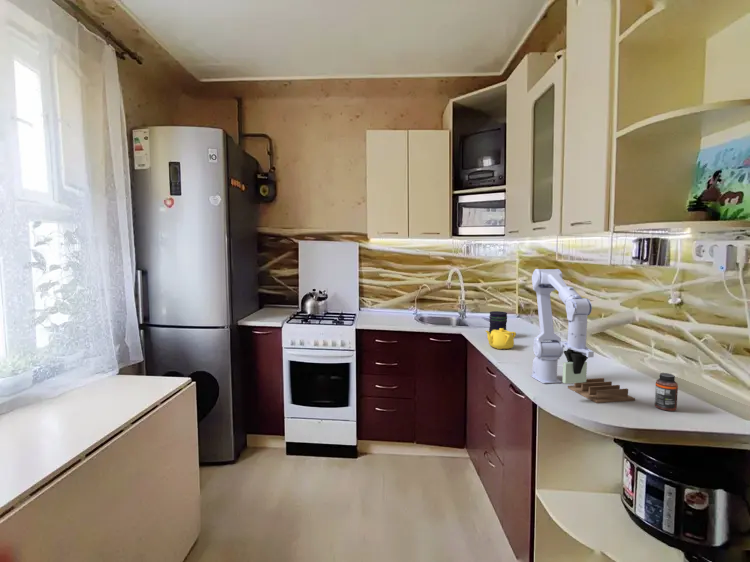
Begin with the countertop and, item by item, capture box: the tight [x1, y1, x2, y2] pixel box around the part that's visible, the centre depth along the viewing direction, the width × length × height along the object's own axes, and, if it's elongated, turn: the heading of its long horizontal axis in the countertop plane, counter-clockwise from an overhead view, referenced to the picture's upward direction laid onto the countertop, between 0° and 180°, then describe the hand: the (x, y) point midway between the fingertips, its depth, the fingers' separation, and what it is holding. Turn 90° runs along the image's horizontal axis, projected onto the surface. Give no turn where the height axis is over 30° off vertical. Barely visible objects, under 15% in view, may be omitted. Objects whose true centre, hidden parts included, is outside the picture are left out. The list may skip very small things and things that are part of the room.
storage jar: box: [488, 310, 508, 334], centre depth 236 cm, size 10×10×15 cm
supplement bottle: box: [654, 372, 679, 412], centre depth 133 cm, size 6×6×11 cm
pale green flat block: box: [561, 361, 588, 384], centre depth 140 cm, size 2×8×7 cm, turn 100°
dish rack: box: [567, 377, 636, 404], centre depth 146 cm, size 15×15×4 cm
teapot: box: [485, 328, 517, 350], centre depth 213 cm, size 14×13×10 cm
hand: (575, 372), depth 140 cm, fingers closed on pale green flat block, 2 cm apart
